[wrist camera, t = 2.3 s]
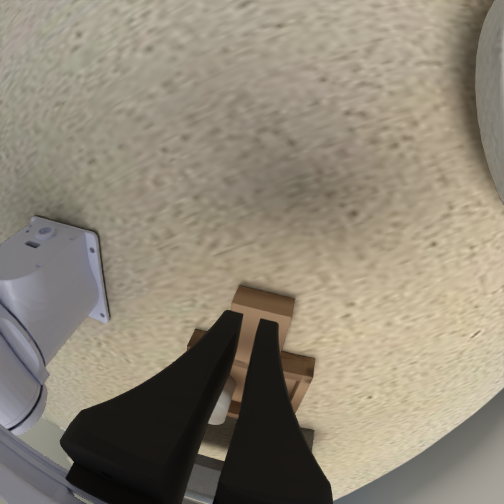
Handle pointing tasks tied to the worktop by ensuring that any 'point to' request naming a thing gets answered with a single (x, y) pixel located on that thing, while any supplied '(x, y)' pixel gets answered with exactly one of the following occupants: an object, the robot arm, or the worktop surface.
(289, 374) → the tray
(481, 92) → the cereal bowl
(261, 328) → the robot arm
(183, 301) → the worktop surface
